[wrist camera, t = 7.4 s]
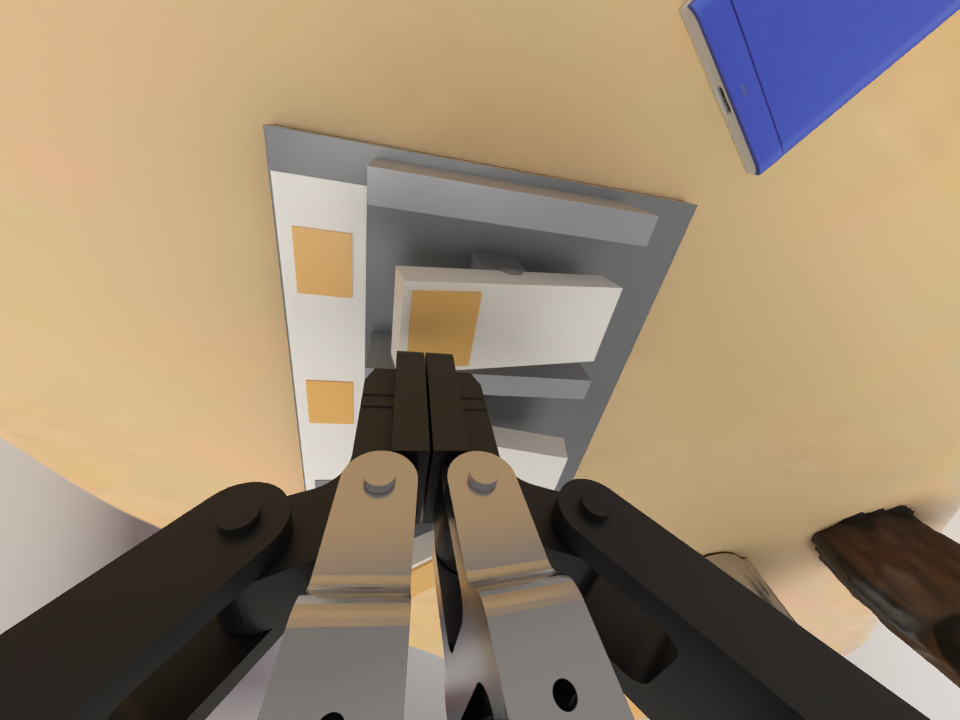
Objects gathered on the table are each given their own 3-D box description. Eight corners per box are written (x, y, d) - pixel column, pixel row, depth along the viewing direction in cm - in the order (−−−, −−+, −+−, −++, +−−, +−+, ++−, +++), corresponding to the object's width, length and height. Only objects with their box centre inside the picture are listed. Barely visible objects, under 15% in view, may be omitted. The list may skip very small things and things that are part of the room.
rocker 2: (597, 269, 16) (626, 287, 15) (571, 342, 18) (594, 364, 17) (393, 258, 13) (404, 279, 11) (388, 350, 15) (398, 378, 13)
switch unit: (684, 201, 19) (747, 220, 15) (547, 517, 32) (563, 565, 29) (271, 124, 14) (227, 126, 11) (313, 525, 28) (299, 583, 24)
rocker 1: (509, 488, 25) (526, 511, 24) (498, 521, 27) (513, 545, 26) (382, 543, 21) (395, 576, 19) (379, 579, 23) (391, 611, 21)
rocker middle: (563, 430, 19) (569, 459, 17) (543, 479, 21) (547, 509, 19) (391, 401, 19) (379, 427, 17) (387, 453, 21) (377, 482, 19)
